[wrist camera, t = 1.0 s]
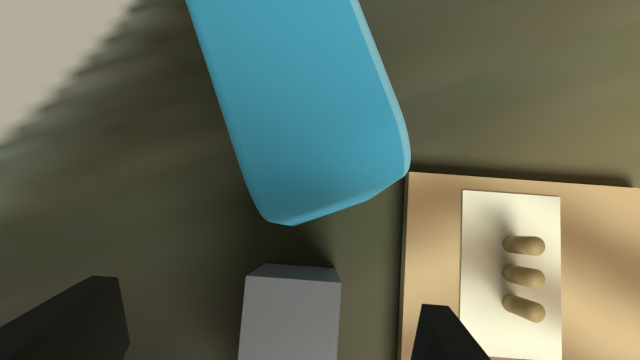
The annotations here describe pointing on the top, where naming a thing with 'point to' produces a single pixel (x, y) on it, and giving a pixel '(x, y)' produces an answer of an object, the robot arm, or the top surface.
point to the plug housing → (290, 313)
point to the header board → (524, 265)
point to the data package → (303, 103)
